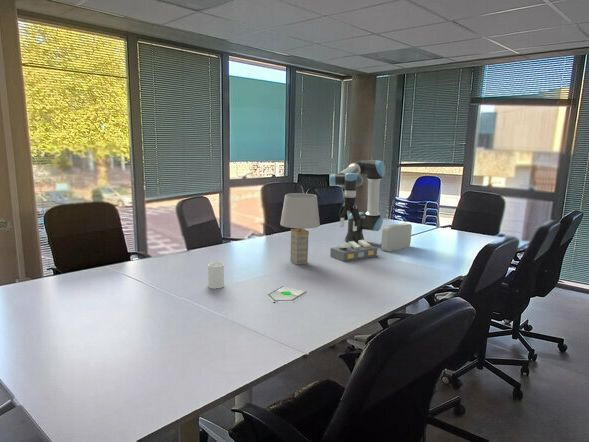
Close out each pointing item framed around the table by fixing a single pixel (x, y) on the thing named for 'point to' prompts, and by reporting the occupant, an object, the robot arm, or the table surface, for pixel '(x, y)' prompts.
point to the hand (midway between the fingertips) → (348, 229)
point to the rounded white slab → (396, 237)
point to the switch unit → (353, 253)
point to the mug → (215, 275)
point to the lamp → (300, 223)
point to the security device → (286, 294)
